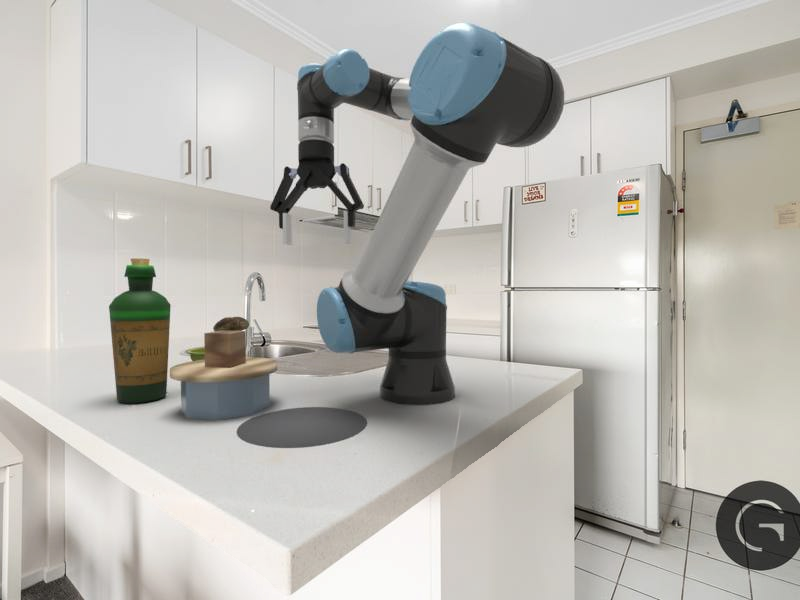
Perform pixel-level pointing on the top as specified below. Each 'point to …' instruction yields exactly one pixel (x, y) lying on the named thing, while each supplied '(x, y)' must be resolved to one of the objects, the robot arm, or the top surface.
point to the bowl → (224, 398)
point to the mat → (301, 427)
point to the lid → (223, 361)
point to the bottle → (140, 337)
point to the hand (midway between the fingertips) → (317, 243)
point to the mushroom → (231, 324)
